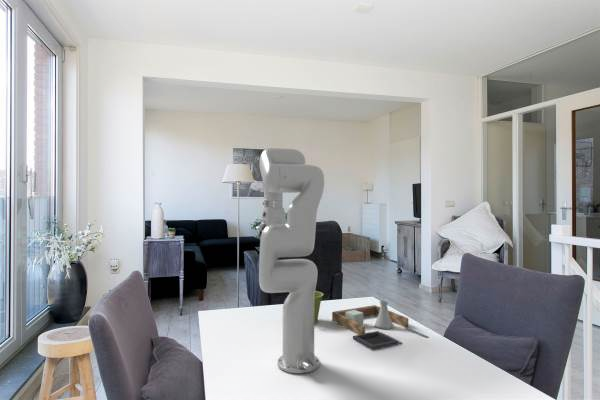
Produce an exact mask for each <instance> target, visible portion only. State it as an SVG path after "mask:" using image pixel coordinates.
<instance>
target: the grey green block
mask: <svg viewBox="0 0 600 400" xmlns="http://www.w3.org/2000/svg"><path fill="white" fill-rule="evenodd" d="M345 317H347V318H349V319H351V320H353V321H355V322H357V323H359V324H361V325H363V326H364V317H363V313H362V312H359V311H356V310H352V311H348V312H345Z"/></svg>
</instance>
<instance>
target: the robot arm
mask: <svg viewBox="0 0 600 400" xmlns="http://www.w3.org/2000/svg"><path fill="white" fill-rule="evenodd" d="M259 170H260V171H259V172H260V175H261V178H262V180H261V181H262V183H261V184H262V188H263V189H264V190H263V191H264V192H263V196H264V198H263V201H262V205H263V206H264V207H263V208H262V213H261V223H259V224H258V225H257V226H255V230H256V232H257V234H258V236H259V238H260V239H259V240H260V243H259V259H258V260H259V265H258V285H259V289H260V290H261V291H263V292H264V293H269V294H274V293H275V294H276V293H289V294H288V295H287V297H285V300H284V302H283V305H282V355H281V356H279V358H278V359H277V367H278V368H279V370H281V371H283V372H286V373H290V374H307V373H311V372H313V371H315V370H317V369H318V368H319V366H320V358H318V357H317V356H316V355H315V323H314V302H315V291H316V287H317V283H318V282H317V281H318V277H319V276H318V273H319V272H318V268H317V265H316V264H315V263H314V261H312V260H310V259H307V258H300V257H307V256H310V255H311V254H312V253H313V251H314V249H315V243H316V242H315V241H316V231H317V230H316V228H317V214H318V209H319V205H320V202H321V199H322V197H323V194H324V191H325V190H324V189H325V175H324V171H323V170H322V169H321V168H320V167H319V166H317V165H313V164H306V157H305V155H304V154H303V152H301V151H300V150H297V149H294V148H275V147H274V148H272V147H269V148H266V149H264V150H263V151H262V153H261V154H260V156H259ZM283 193H286V194H287V193H288V194H289V193H292V194H293V193H299V194H298V195H296V196H295V197H294V199H292V201H291V202H290V204H289V205H288V208H287V212H286V211H285V208H284V205H283V202H284V201H283V200H284V199H283V197H284V196H283ZM286 214H287V217H286ZM298 257H299V258H298ZM280 258H287V259H280Z"/></svg>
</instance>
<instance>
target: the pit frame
mask: <svg viewBox="0 0 600 400" xmlns="http://www.w3.org/2000/svg"><path fill="white" fill-rule="evenodd" d="M381 332H382V331H379V330H375V331H370V332H365V334H360V335H358V334H355V335H352V340H353V341H355V342H357V343H359V344H361V345H362V346H364V347H366V348H368V349H369V350H371V351H376V350H380V349H383V348H389V347H393V346H397V345H399V343H398V341H399V340H398V339H396V338H394V337H392V336H390V335H388V336H387V334H386V333H384V332H382V333H381ZM383 333H384V334H383ZM385 334H386V335H385ZM389 336H390V337H389ZM391 337H392V338H391ZM393 338H394V339H393ZM395 339H396V340H395ZM397 340H398V341H397Z"/></svg>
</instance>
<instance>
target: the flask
mask: <svg viewBox="0 0 600 400" xmlns="http://www.w3.org/2000/svg"><path fill="white" fill-rule="evenodd" d="M388 303H389V300H383V299H381V300H379V304H380V306H379V307H380V311H379V314H378V315H377V318H376V320H375V323H374V328H377V329H380V330H381V329H382V330H390V329H394V328H393V327H394V324H393V322H392V321H391V318H390V315H389V312H388V310H389V308H388Z"/></svg>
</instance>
